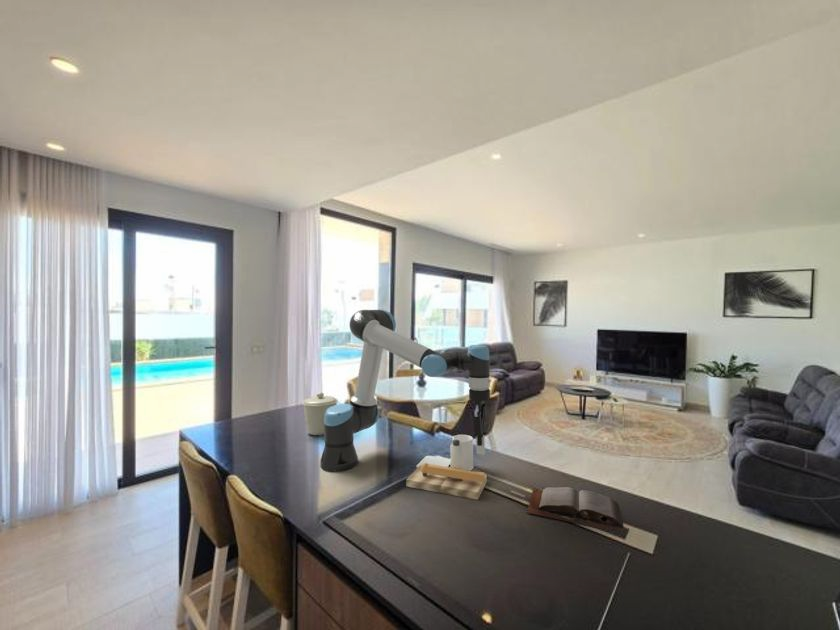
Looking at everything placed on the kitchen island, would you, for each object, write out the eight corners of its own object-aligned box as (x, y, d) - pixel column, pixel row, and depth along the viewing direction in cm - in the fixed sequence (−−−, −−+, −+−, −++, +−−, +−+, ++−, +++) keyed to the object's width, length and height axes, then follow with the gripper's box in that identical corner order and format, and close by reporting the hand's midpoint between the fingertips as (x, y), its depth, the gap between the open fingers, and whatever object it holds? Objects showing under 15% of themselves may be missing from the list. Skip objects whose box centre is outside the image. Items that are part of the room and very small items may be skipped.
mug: (461, 477, 139) (460, 445, 139) (443, 471, 145) (442, 440, 145) (477, 467, 148) (477, 437, 148) (460, 461, 154) (459, 432, 154)
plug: (445, 485, 133) (444, 442, 133) (450, 477, 139) (450, 436, 139) (462, 488, 130) (462, 444, 130) (467, 480, 136) (467, 438, 136)
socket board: (406, 486, 132) (406, 475, 132) (421, 470, 145) (420, 461, 145) (477, 499, 122) (477, 488, 122) (486, 481, 135) (486, 471, 135)
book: (630, 538, 102) (631, 521, 102) (526, 514, 113) (526, 500, 113) (622, 507, 121) (622, 493, 121) (533, 490, 132) (533, 477, 132)
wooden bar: (420, 472, 134) (420, 465, 134) (422, 469, 137) (422, 462, 137) (483, 483, 126) (483, 475, 126) (485, 479, 128) (485, 472, 128)
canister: (333, 438, 184) (333, 396, 184) (297, 438, 184) (297, 396, 184) (341, 427, 202) (341, 388, 202) (308, 427, 202) (308, 388, 202)
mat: (416, 467, 148) (415, 466, 148) (426, 456, 159) (426, 455, 159) (444, 472, 144) (444, 470, 144) (453, 460, 155) (453, 459, 155)
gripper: (485, 392, 126) (487, 461, 126) (493, 385, 139) (494, 448, 139) (464, 391, 129) (465, 458, 129) (473, 384, 141) (474, 446, 141)
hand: (480, 453), depth 134 cm, fingers closed
